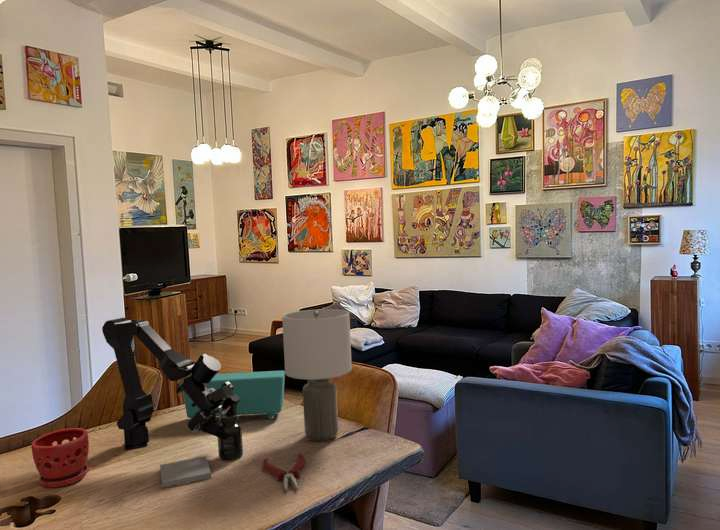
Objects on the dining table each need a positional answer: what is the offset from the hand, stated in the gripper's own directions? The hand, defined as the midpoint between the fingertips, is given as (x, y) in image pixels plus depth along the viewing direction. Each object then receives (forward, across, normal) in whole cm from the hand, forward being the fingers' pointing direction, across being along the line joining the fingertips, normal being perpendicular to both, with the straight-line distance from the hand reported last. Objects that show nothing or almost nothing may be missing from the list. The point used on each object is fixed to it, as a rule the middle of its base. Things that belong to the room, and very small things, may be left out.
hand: (233, 434), depth 156 cm
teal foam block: (-9, +30, +19) cm, 36 cm away
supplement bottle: (+4, 0, +6) cm, 7 cm away
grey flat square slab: (0, -13, +9) cm, 16 cm away
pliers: (+18, -7, -8) cm, 21 cm away
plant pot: (-21, -26, +31) cm, 45 cm away
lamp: (+17, +21, -8) cm, 28 cm away
